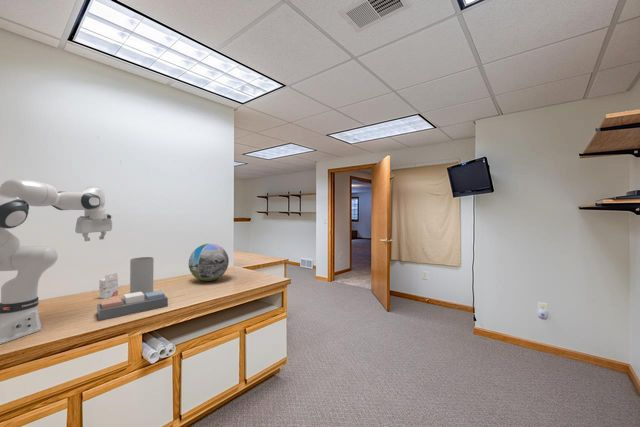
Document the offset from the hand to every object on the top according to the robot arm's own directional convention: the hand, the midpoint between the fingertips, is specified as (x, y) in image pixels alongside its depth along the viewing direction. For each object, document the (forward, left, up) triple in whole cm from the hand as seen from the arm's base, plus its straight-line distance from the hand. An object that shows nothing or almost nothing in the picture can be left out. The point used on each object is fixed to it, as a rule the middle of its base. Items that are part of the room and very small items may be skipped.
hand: (94, 240), depth 149 cm
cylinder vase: (+22, -12, -39) cm, 47 cm away
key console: (0, -23, -39) cm, 45 cm away
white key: (0, -23, -35) cm, 41 cm away
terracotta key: (-7, -16, -36) cm, 40 cm away
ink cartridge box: (+22, +10, -39) cm, 46 cm away
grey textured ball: (+65, -37, -39) cm, 84 cm away
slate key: (+7, -30, -36) cm, 48 cm away
